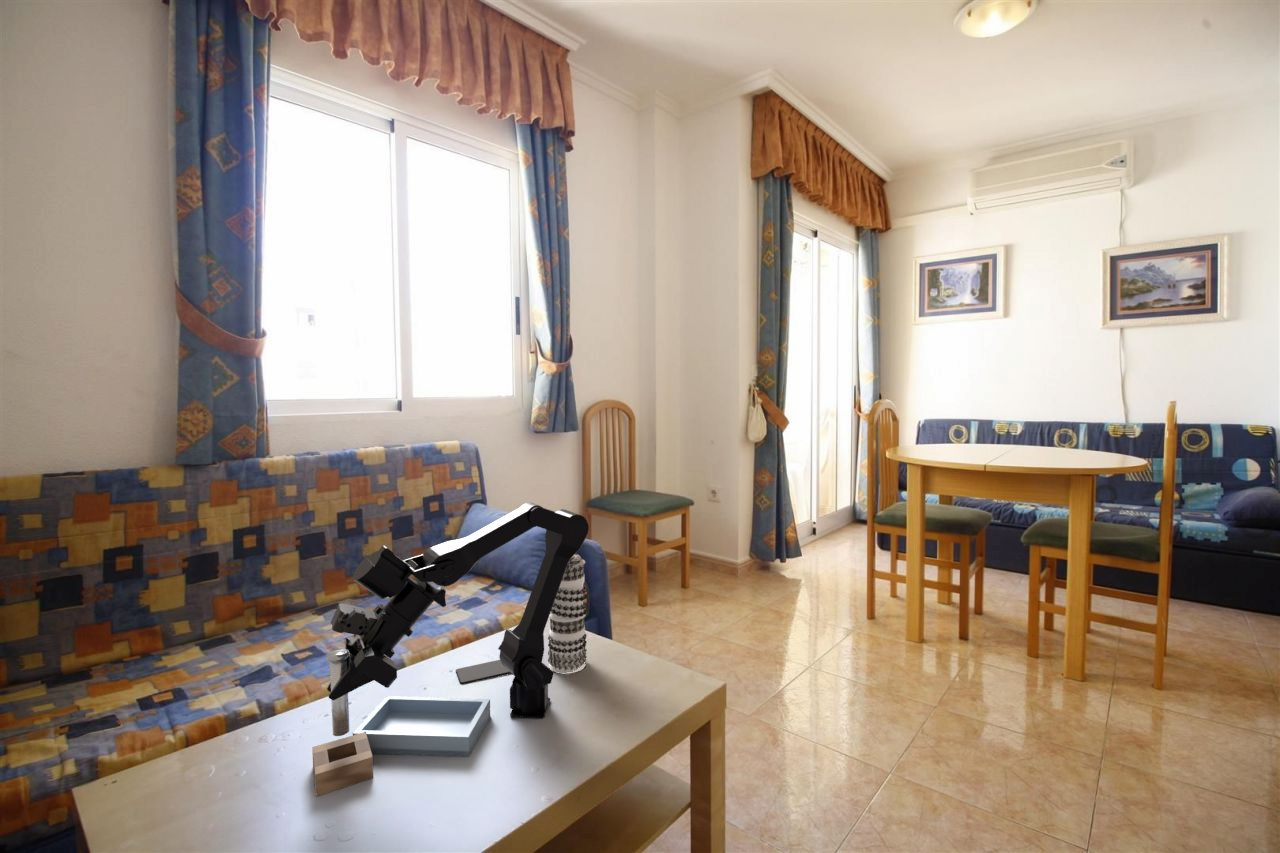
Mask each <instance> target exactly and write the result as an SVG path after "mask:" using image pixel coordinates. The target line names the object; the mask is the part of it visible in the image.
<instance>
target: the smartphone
mask: <svg viewBox="0 0 1280 853" xmlns="http://www.w3.org/2000/svg"><path fill="white" fill-rule="evenodd" d="M455 673H456V677H457V679H458V682H459V684H460V685H465V684H466V685H467V684H470V683H475V682H479V681H485V680H489V679H494V678H497V677H498V676H499V677H502V675H504V676H507V674H508V675H512V674H511V673H510V671H509V670H508V669H507V668H506V667H505V666H504V665H502V663H501V661H500V659H496V660H492V661H487V662H484V663H483V662H482V663H478V664H474V665H470V666H469V665H468V666H465V667H461V668H460V667H459V668H457V669H455ZM499 677H498V678H499Z"/></svg>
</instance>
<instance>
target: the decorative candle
mask: <svg viewBox="0 0 1280 853" xmlns="http://www.w3.org/2000/svg"><path fill="white" fill-rule="evenodd" d="M585 564H586V560H585V559H583V558H582V557H581V555H579V554H578V553H576V554H575V555H574V556H573V557H572V558H571V559H570V560H569V562H568V565H567V567H566V570H565V573H564V576H563V579H562V581H561V584H560V587H559V590H558V593H557V595H556V598H555V601H554V604H553V607H552V609H551V612H550V615H549V618H548V619H549V621H550V622H549V624H550V625H549V634H548V637H547V640H548V644H547V646H548V647H549V649H548V652H547V655H548V658H547V662H548V668H550V669H551V670H552V671H555V672H559V673H567V672H573V670H574V671H575V670H577V669H578V668H580V667H581V666H582V665H583V664H584V662H585V661H586V662H587V658H588V656H587V651H588V650H587V648H586V647H587V640H586V639H587V637H588V636H587V633H586V627H585V626H586V625H585V617H586V615H587V609H586V608H587V605H588V604H587V602H585V600H587V598H588V594H587V592H588V587H587V586H585V585H584V583H585V581H586V580H587V577H585V573H584V569H585V568H584V567H585Z"/></svg>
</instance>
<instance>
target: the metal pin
mask: <svg viewBox="0 0 1280 853" xmlns="http://www.w3.org/2000/svg"><path fill="white" fill-rule="evenodd" d="M348 654H349V650H347V649H345V648H341V649H333V650H332V651H329V652H328V653H327V654H326V661H327V662H329V672H330V674H329V675H330V676H329V677H330V678H329V679H330V682H331V691H332V689H333V688H334V686H335V685H336V683H337V682H338V681H339V679H340V678H341V676H342V675H343V673H344V672H345V670H346V669H347V658H348V657H349V656H348ZM330 701H331V721H332V723H331V724H332V735H333V736H334V737H341V736H344V735H347V734H348V733H349V732H350V713H349V712H350V710H349V709H350V708H349V693H347V694H345V695H343V696H341V697H340V698H338V699H336V700H331V699H330Z"/></svg>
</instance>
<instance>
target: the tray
mask: <svg viewBox="0 0 1280 853" xmlns="http://www.w3.org/2000/svg"><path fill="white" fill-rule="evenodd" d="M490 718H491V698H474V697H473V698H466V697H465V698H464V697H435V696H434V697H432V696H430V697H429V696H398V695H397V696H395V695H392V696H391V695H386V696H385V697H384V698H383V699H382V701H381V702H380V703H379V704H378V705H377V706H376V707H375V708H373V710H372V711H371V713H370V714H369V715H368V716H367V717H366V718H365V719H364V720H363V722H361V723H360V725H359V726H358V727H357V728H356V729H355V730H354V731H353V732H352V736H353V735H356V734H360V733H361V734H362V733H363V734H364V732H365V734H366V735H367V738H368V742H369V746H370V749H371V753H372V755H373V754H374V755H398V756H399V755H400V756H401V755H403V756H429V757H431V756H432V757H433V756H435V757H459V758H460V757H463V758H464V757H465V758H469V757H470V756H471V753H472V752H473V750H474V748H475V746H476V744H477V743H478V740H479V738H480V737H481V735H482V733H483V731H484V729H485V728H486V726H487V724H488V722H489V720H490Z"/></svg>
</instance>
